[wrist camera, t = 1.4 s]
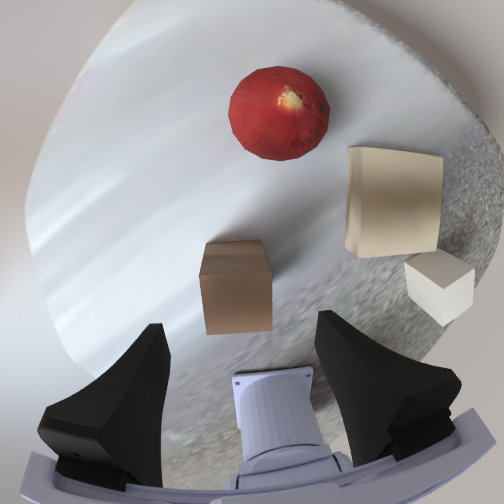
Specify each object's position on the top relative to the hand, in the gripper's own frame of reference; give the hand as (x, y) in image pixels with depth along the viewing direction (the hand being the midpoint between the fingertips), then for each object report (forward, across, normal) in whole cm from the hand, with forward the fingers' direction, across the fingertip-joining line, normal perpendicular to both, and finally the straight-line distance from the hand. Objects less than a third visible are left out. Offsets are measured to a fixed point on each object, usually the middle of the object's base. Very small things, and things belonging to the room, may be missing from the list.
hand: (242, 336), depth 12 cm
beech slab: (+10, -13, -4) cm, 17 cm away
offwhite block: (+9, -18, +3) cm, 21 cm away
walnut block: (+10, 0, +1) cm, 10 cm away
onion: (+10, -3, -10) cm, 15 cm away
